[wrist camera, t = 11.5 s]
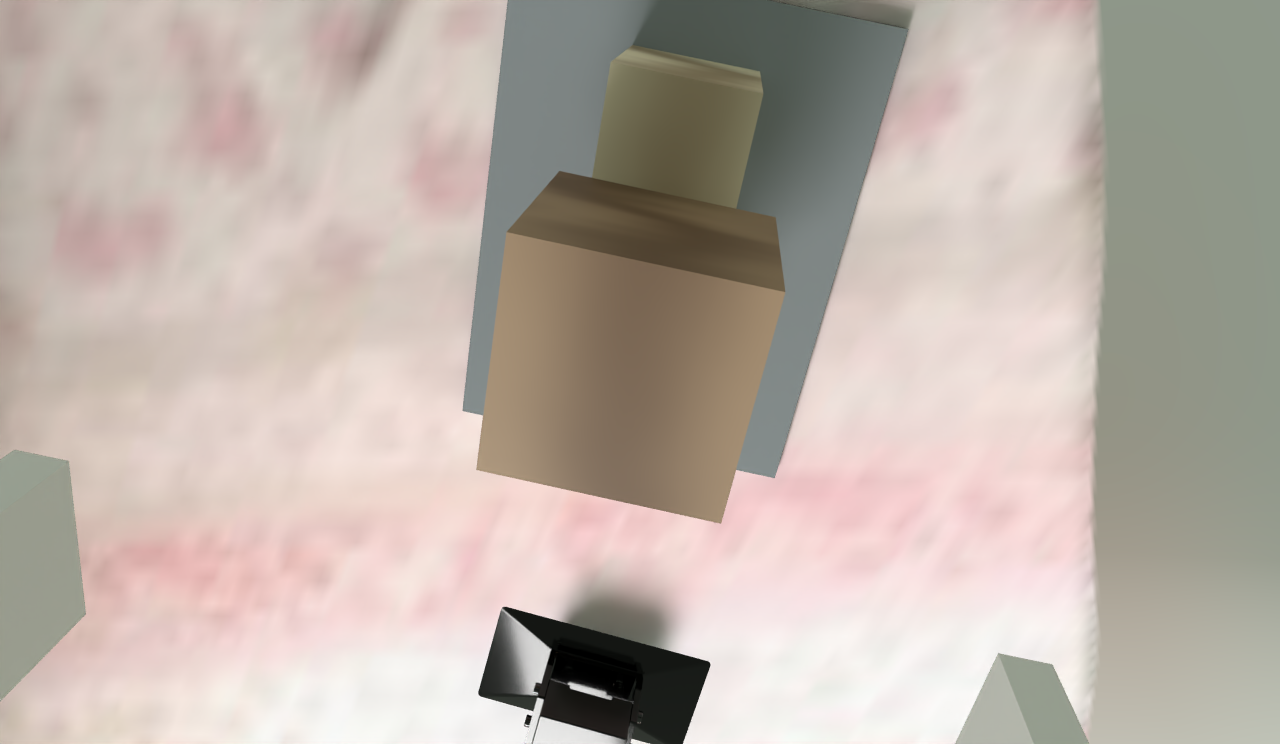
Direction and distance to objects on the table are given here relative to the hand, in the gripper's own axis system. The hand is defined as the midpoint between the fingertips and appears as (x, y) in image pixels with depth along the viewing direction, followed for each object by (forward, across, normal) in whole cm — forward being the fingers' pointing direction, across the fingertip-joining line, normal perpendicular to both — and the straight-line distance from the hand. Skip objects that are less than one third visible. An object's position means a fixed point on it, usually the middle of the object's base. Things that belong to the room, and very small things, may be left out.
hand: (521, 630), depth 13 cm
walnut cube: (+14, +1, 0) cm, 14 cm away
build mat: (+20, +1, 0) cm, 20 cm away
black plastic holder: (+20, +2, -20) cm, 29 cm away
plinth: (+19, +1, 0) cm, 19 cm away
